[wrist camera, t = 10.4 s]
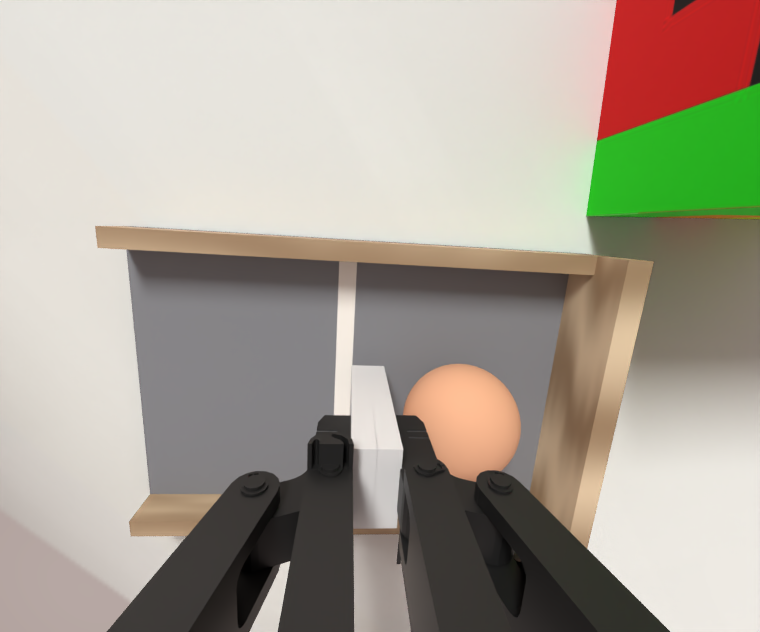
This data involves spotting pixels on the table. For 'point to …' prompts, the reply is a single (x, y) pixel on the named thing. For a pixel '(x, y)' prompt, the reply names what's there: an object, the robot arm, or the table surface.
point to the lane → (317, 352)
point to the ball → (467, 418)
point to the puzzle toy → (680, 112)
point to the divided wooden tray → (568, 376)
